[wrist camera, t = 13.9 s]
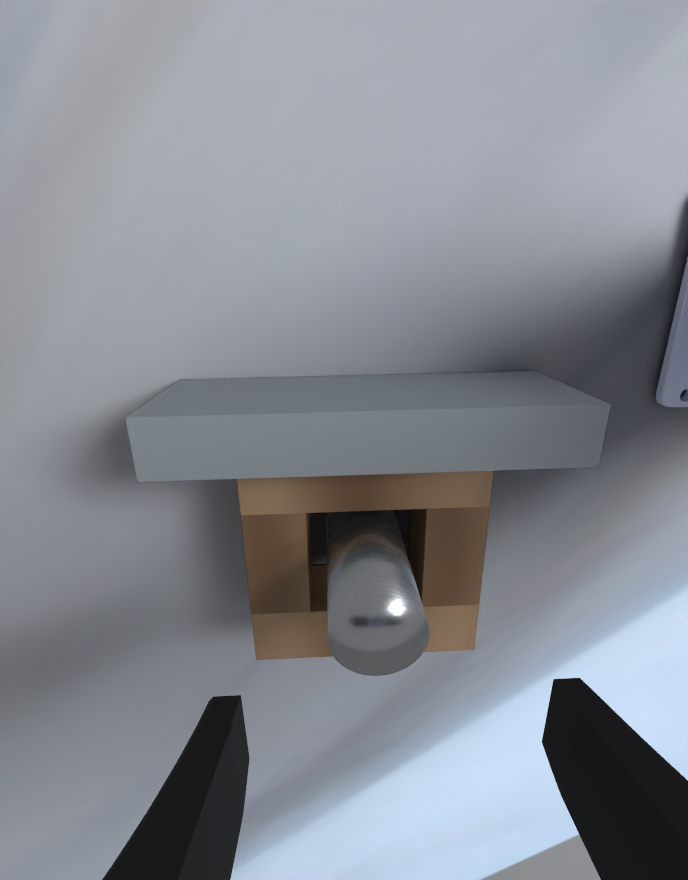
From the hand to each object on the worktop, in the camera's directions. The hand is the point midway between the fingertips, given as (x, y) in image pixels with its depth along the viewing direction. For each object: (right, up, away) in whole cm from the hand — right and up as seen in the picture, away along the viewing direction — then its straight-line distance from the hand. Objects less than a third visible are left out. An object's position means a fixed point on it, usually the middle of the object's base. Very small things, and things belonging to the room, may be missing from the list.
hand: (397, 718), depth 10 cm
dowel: (-1, +3, +9) cm, 10 cm away
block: (-1, +3, +9) cm, 10 cm away
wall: (-1, +8, +7) cm, 11 cm away
